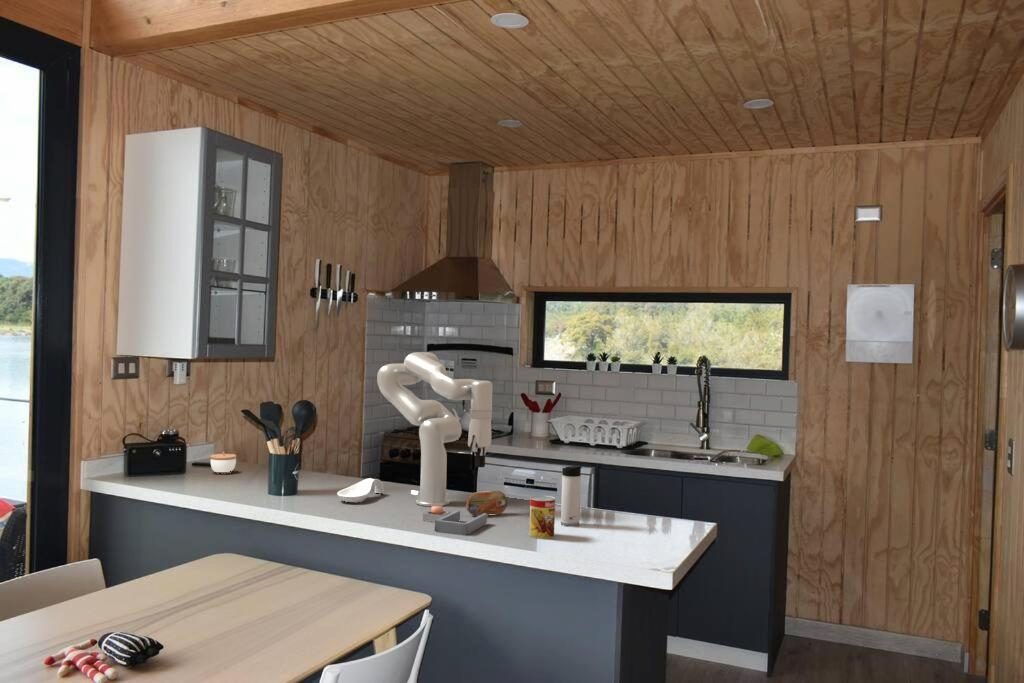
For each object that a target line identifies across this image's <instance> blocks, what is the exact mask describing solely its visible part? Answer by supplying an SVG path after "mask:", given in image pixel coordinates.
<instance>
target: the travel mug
mask: <svg viewBox="0 0 1024 683" xmlns="http://www.w3.org/2000/svg"><path fill="white" fill-rule="evenodd" d="M582 467H583V466H582V465H572V466H565V467H562V474H561V502H560V504H561V506H560V525H561V526H563V525H564V526H563V527H568V526H575V527H579V526H580V519H581V518H580V515H581V514H580V512H581V509H580V508H581V482H582V481H581V475H582V474H581V472H582V469H583V468H582Z"/></svg>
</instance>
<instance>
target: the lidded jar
mask: <svg viewBox="0 0 1024 683" xmlns="http://www.w3.org/2000/svg"><path fill="white" fill-rule="evenodd" d="M209 459H210V466H211V467H210V468H211V469H212V471H213V472H214V473H215V472H230V471H231V472H232V471H234V469H235V467H236V464H237V455H236V454H234V453H226V452H225V451H222V453H216V454H215V453H214V454H211V455H210V458H209ZM231 472H230V473H231Z"/></svg>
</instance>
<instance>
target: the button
mask: <svg viewBox="0 0 1024 683" xmlns="http://www.w3.org/2000/svg"><path fill="white" fill-rule="evenodd" d="M430 510H431V514H439V515H441V514H443V511H444V507H443V506H430Z"/></svg>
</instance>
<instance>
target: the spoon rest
mask: <svg viewBox="0 0 1024 683" xmlns="http://www.w3.org/2000/svg"><path fill="white" fill-rule="evenodd" d="M373 484H374V494H375V493H385V494H386V489H385V485H384V483H383V482H382V481H381V480H380V479H378V478H371V477H369V478H365V479H363V480H361V481H358V482H356V483H355V484H352V485H350V486H348V487H346V488H343V489H341V490H338V491H337V493H336V494H337V496H338V498H339V499H340V500H341V501H342V502H344V501H345V502H344V503H347V502H361V501H363V502H364V501H365V500H366V499H367V498H368V497H369V496H370V493H371V491H372V488H373V487H372V486H373ZM361 503H362V502H361Z"/></svg>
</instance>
